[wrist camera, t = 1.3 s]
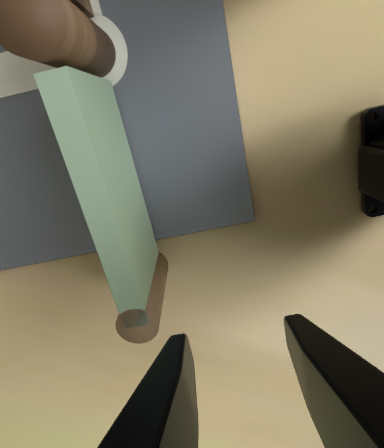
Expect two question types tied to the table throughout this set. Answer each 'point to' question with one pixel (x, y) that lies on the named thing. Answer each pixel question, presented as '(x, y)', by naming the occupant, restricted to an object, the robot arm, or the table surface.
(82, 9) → the fixed fence section
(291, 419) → the table surface
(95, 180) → the hinged fence panel
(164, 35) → the card
